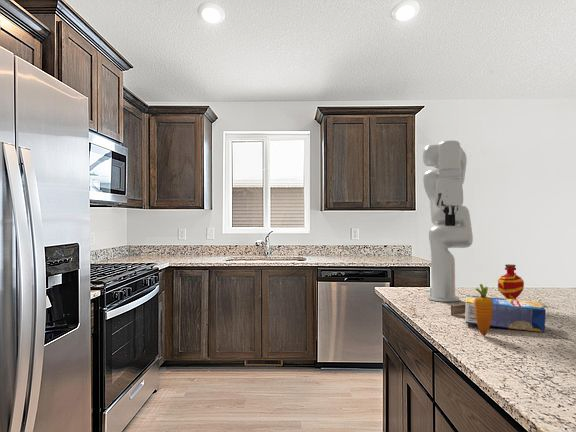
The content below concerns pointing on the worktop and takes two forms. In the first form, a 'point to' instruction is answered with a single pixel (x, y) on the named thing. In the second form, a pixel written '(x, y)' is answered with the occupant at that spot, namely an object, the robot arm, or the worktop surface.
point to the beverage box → (511, 314)
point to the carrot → (483, 310)
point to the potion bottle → (510, 283)
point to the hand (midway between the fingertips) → (450, 225)
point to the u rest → (458, 310)
